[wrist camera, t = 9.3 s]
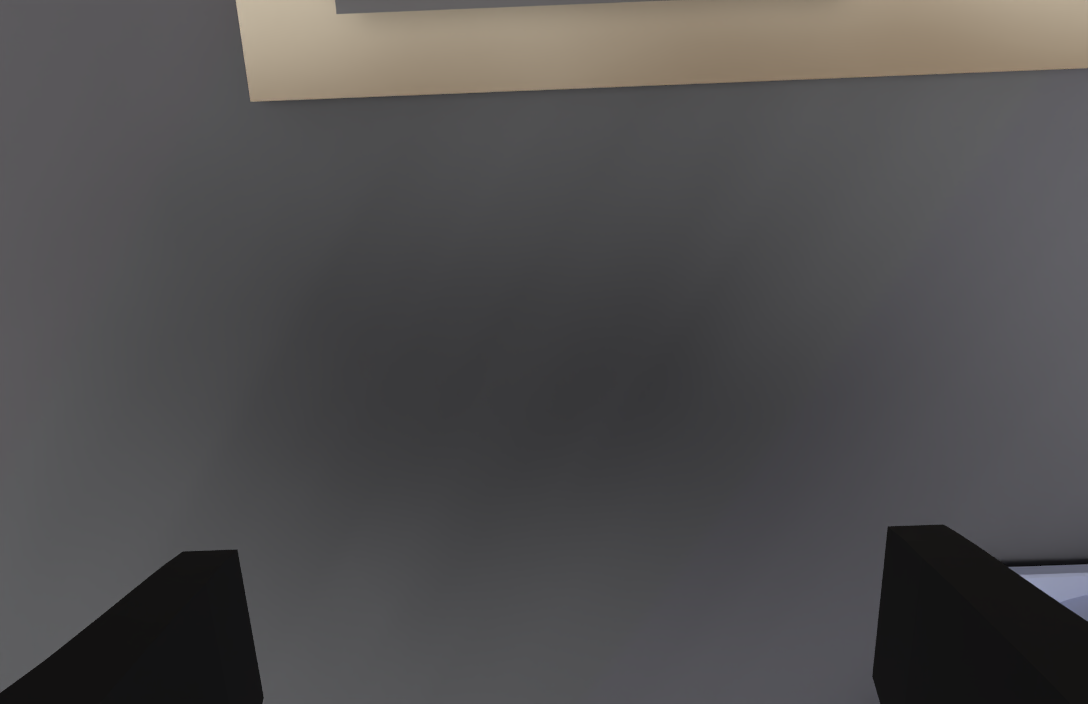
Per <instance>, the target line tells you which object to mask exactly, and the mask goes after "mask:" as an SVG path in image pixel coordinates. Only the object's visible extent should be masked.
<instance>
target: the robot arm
mask: <svg viewBox="0 0 1088 704" xmlns="http://www.w3.org/2000/svg"><path fill="white" fill-rule="evenodd" d="M872 677H873V680H874V683H875V687H876V690H877V694H878V697H879V700H880V704H1088V564H1081V565H1052V566H1024V567H1007V566H1006V565H1004V564H1003V563H1001V562H1000V561H998V560H997V559H996V558H994V557H993V556H991V555H990V554H988V553H987V552H985V551H984V550H982V549H981V548H980V547H978V546H977V545H975V544H974V543H972V542H971V541H969V540H968V539H966V538H965V537H963V536H961V535H960V534H958V533H957V532H955V531H953V530H952V529H950V528H948V527H947V526H945V525H919V526H891V527H888V530H887V540H886V550H885V559H884V569H883V579H882V589H881V598H880V608H879V618H878V628H877V637H876V647H875V657H874V666H873V676H872ZM263 698H264V697H263V691H262V686H261V680H260V674H259V669H258V663H257V658H256V652H255V646H254V641H253V635H252V629H251V624H250V618H249V613H248V607H247V601H246V596H245V590H244V585H243V579H242V573H241V568H240V562H239V556H238V551H237V550H215V551H187V552H182V553H180V554H179V555H178V556H176V557H175V558H173V559H172V560H170V561H169V562H168V563H166V564H165V565H164V566H162V567H161V568H160V569H159V570H157V571H156V572H155V573H153V574H152V575H151V576H150V577H148V578H147V579H146V580H145V581H143V582H142V583H141V584H140V585H138V586H137V587H136V588H135V589H134V590H132V591H131V592H130V593H129V594H127V595H126V596H125V597H124V598H122V599H121V600H120V601H119V602H118V603H116V604H115V605H114V606H113V607H111V608H110V609H109V610H108V611H106V612H105V613H104V614H103V615H101V616H100V617H99V618H98V619H96V620H95V621H94V622H93V623H91V624H90V625H89V626H88V627H86V628H85V629H84V630H83V631H81V632H80V633H79V634H78V635H76V636H75V637H74V638H73V639H71V640H70V641H69V642H68V643H66V644H65V645H64V646H63V647H61V648H60V649H59V650H58V651H56V652H55V653H54V654H52V655H51V656H50V657H49V658H47V659H46V660H45V661H43V662H42V663H41V664H39V665H38V666H37V667H35V668H34V669H33V670H31V671H30V672H28V673H27V674H26V675H24V676H23V677H22V678H20V679H19V680H17V681H16V682H15V683H13V684H12V685H11V686H9V687H8V688H7V689H5V690H4V691H2V692H1V693H0V704H262V702H263Z"/></svg>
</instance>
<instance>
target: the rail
mask: <svg viewBox="0 0 1088 704" xmlns="http://www.w3.org/2000/svg"><path fill="white" fill-rule="evenodd" d="M236 4H237V11H238V18H239V25H240V32H241V39H242V46H243V53H244V60H245V67H246V73H247V80H248V87H249V94H250V101H251V102H255V101H280V100H305V99H330V98H355V97H380V96H405V95H429V94H454V93H479V92H504V91H529V90H554V89H578V88H603V87H628V86H653V85H678V84H703V83H727V82H752V81H777V80H802V79H827V78H852V77H876V76H901V75H926V74H951V73H976V72H1001V71H1026V70H1050V69H1075V68H1088V0H236Z"/></svg>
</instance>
